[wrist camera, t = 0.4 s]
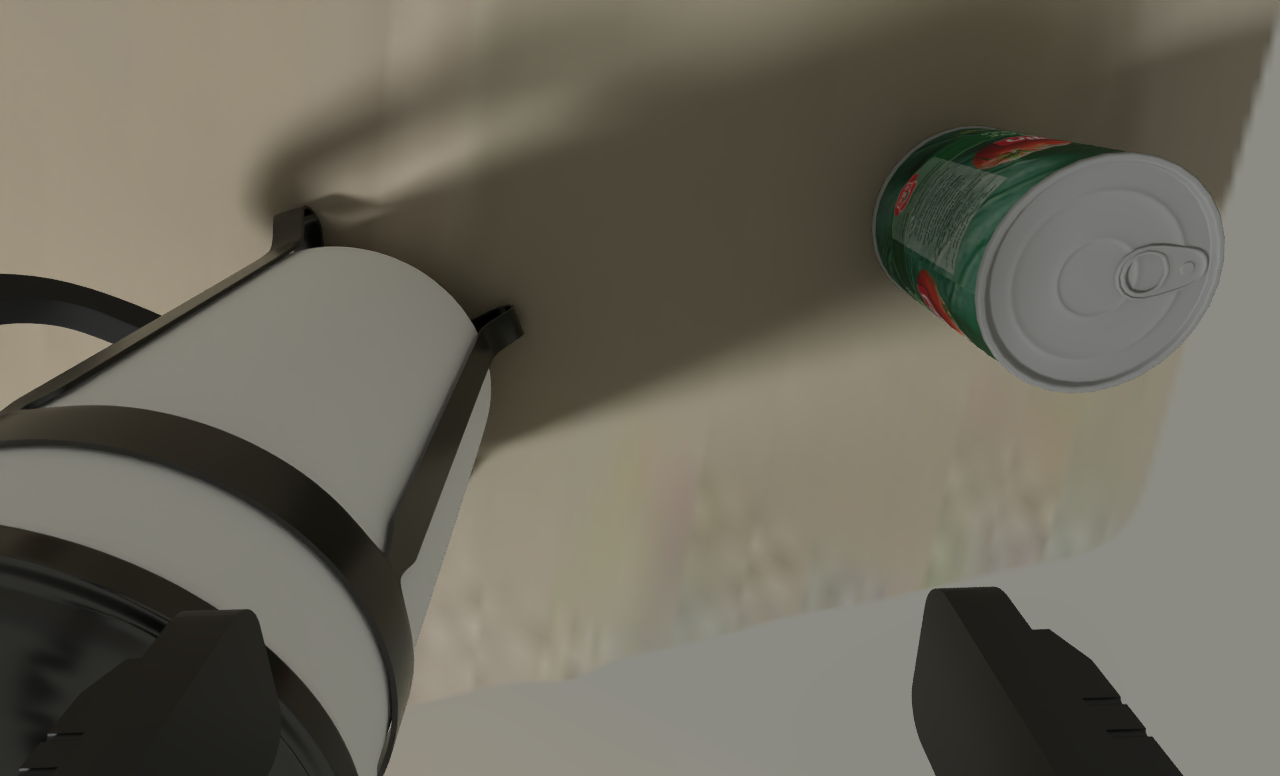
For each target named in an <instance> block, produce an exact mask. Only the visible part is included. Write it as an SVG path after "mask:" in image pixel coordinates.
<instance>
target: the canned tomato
mask: <svg viewBox="0 0 1280 776" xmlns="http://www.w3.org/2000/svg"><path fill="white" fill-rule="evenodd" d="M872 238H873V244H874V250H875V253H876V255H877V258H878V261H879V263H880V265H881V267H882V268H883V270H884V272H885V273H886V275H887V276H888V278H889V279H890V280H891V281H892V282H893V283H894V284H895V285H896V286H897V287H898V288H899V289H901V290H902V291H904V292H905V293H907V294H909V295H910V296H912V297H913V298H914V299H915V300H917V301H918V302H919V303H920V304H922V305H923V306H925V307H926V308H927V309H928V310H930V311H931V312H933V313H934V314H935V315H936V316H938V317H939V318H941V319H942V320H943V321H944V322H946V323H947V324H949V325H950V326H951V327H952V328H954V329H955V330H957V331H958V332H959V333H960V334H961V335H963V336H965V337H966V338H967V339H968V340H969V341H971V342H972V343H974V344H975V345H976V346H977V347H978V348H980V349H982V350H983V351H984V352H985V353H987V354H988V355H989V356H991V357H992V358H994V359H996V360H997V361H998V362H1000V363H1001V364H1002V365H1003V366H1004V367H1005V368H1006V369H1007V370H1008V371H1009V372H1010V373H1011V374H1013V375H1015V376H1016V377H1018V378H1020V379H1021V380H1023V381H1024V382H1026V383H1028V384H1031V385H1033V386H1036V387H1039V388H1042V389H1045V390H1048V391H1056V392H1064V393H1082V392H1094V391H1098V390H1102V389H1106V388H1110V387H1114V386H1117V385H1120V384H1122V383H1124V382H1127V381H1129V380H1132V379H1134V378H1136V377H1139V376H1140V375H1142V374H1143V373H1145V372H1147V371H1148V370H1150V369H1151V368H1153V367H1155V366H1156V365H1158V364H1160V363H1161V362H1162V361H1163V360H1164V359H1165V358H1167V357H1168V356H1169V355H1170V354H1171V353H1172V352H1174V351H1175V350H1176V349H1177V348H1178V347H1179V346H1180V345H1181V344H1182V343H1183V342H1184V341H1185V339H1186V338H1187V337H1188V336H1189V335H1190V334H1191V333H1192V331H1193V330H1194V329H1195V328H1196V326H1197V325H1198V323H1199V322H1200V320H1201V319H1202V317H1203V315H1204V314H1205V312H1206V311H1207V309H1208V307H1209V305H1210V303H1211V301H1212V298H1213V296H1214V294H1215V291H1216V289H1217V286H1218V284H1219V280H1220V275H1221V271H1222V266H1223V262H1224V232H1223V227H1222V221H1221V216H1220V213H1219V211H1218V209H1217V207H1216V205H1215V202H1214V200H1213V198H1212V196H1211V194H1210V193H1209V192H1208V190H1207V189H1206V188H1205V187H1204V186H1203V184H1202V183H1201V182H1200V181H1199V179H1198V178H1197V177H1195V176H1194V175H1193V174H1191V173H1190V172H1188V171H1187V170H1186V169H1184V168H1183V167H1182V166H1180V165H1179V164H1176V163H1174V162H1171V161H1169V160H1166V159H1164V158H1161V157H1159V156H1156V155H1150V154H1143V153H1137V152H1124V151H1121V150H1114V149H1108V148H1103V147H1096V146H1092V145H1085V144H1080V143H1073V142H1068V141H1062V140H1057V139H1050V138H1045V137H1038V136H1033V135H1027V134H1021V133H1015V132H1009V131H1003V130H999V129H996V128H991V127H984V126H966V127H957V128H954V129H950V130H946V131H942V132H940V133H938V134H936V135H934V136H932V137H930V138H927V139H925V140H924V141H922V142H921V143H919V144H918V145H917V146H915V147H914V148H913V149H911V150H910V151H909V152H908V153H907V154H906V155H905V156H904V157H903V158H902V159H901V160H900V161H899V162H898V163H897V164H896V165H895V166H894V168H893V169H892V171H891V172H890V174H889V175H888V177H887V178H886V180H885V181H884V183H883V186H882V188H881V190H880V192H879V195H878V197H877V200H876V204H875V208H874V212H873V219H872Z"/></svg>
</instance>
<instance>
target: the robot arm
mask: <svg viewBox="0 0 1280 776" xmlns="http://www.w3.org/2000/svg"><path fill="white" fill-rule="evenodd" d="M1120 699H1121V698H1120V695H1119V694H1118V693H1117V691H1116V690H1115V689H1114V688H1113V686H1112V685H1111V684H1110V683H1109V681H1108V680H1107V679H1106V678H1105V676H1104V675H1103V674H1102V673H1101V671H1100V670H1099V669H1098V668H1097V666H1096V665H1095V664H1094V663H1093V661H1092V660H1091V659H1089V658H1088V657H1087V656H1086V655H1084V654H1083V653H1081V652H1080V651H1079V650H1077V649H1076V648H1075V647H1073V646H1072V645H1070V644H1069V643H1068V642H1066V641H1065V640H1063V639H1062V638H1061V637H1059V636H1058V635H1056V634H1055V633H1054V632H1052V631H1051V630H1049V629H1040V630H1032V629H1031V628H1030V626H1029V625H1028V623H1027V622H1026V621H1025V619H1024V618H1023V617H1022V615H1021V614H1020V613H1019V611H1018V610H1017V608H1016V607H1015V606H1014V604H1013V603H1012V602H1011V600H1010V599H1009V597H1008V596H1007V595H1006V594H1005V593H1004V592H1003V591H1002V590H1001V589H1000V588H997V587H971V588H970V587H969V588H938V589H933V590H931V591H930V593H929V594H928V596H927V599H926V603H925V609H924V615H923V621H922V628H921V634H920V640H919V646H918V653H917V659H916V666H915V672H914V678H913V685H912V707H913V715H914V721H915V726H916V729H917V733H918V736H919V739H920V742H921V744H922V746H923V749H924V751H925V753H926V755H927V757H928V760H929V762H930V764H931V766H932V768H933V770H934V773H935V775H936V776H1183V775H1182V774H1181V772H1180V771H1179V770H1178V768H1177V767H1176V766H1175V765H1174V764H1173V762H1172V761H1171V760H1170V758H1169V757H1168V756H1167V755H1166V753H1165V752H1164V751H1163V749H1162V748H1161V747H1160V746H1159V744H1158V743H1157V742H1156V741H1155V740H1154V738H1153V737H1148V736H1147V735H1146V728H1145V727H1144V726H1143V724H1142V723H1141V722H1140V720H1139V719H1138V718H1137V717H1136V715H1135V714H1134V713H1133V712H1132V710H1131V709H1130V708H1129V707H1128V705H1127V704H1122V703H1121V700H1120ZM280 734H281V710H280V705H279V700H278V696H277V692H276V688H275V684H274V680H273V676H272V672H271V668H270V663H269V659H268V655H267V651H266V647H265V643H264V639H263V635H262V631H261V627H260V623H259V620H258V618H257V616H256V614H255V613H254V612H253V611H251V610H249V609H232V610H202V611H182V612H180V613H178V614H176V615H175V616H174V617H173V618H172V619H171V620H170V621H169V623H168V624H167V625H166V626H165V628H164V629H163V630H162V632H161V633H160V634H159V636H158V637H157V638H156V640H155V641H154V642H153V643H152V645H151V646H150V647H149V649H148V650H147V651H146V653H145V654H144V655H143V657H142V658H129V659H126V660H124V661H123V662H122V663H120V664H119V665H118V666H116V667H115V668H114V669H112V670H111V671H110V672H108V673H107V674H106V675H104V676H103V677H101V678H100V679H99V680H97V681H96V682H95V683H93V684H92V685H91V686H89V687H88V688H87V689H85V690H84V691H83V692H81V693H80V694H79V696H78V697H77V698H76V699H75V700H74V702H73V703H72V704H71V705H70V707H69V708H68V709H67V710H66V711H65V713H64V714H63V715H62V716H61V718H60V719H59V720H58V721H57V723H56V724H55V725H54V726H53V727H52V729H51V730H50V731H49V732H48V734H47V735H48V737H47V740H46V742H40V743H39V745H38V746H37V747H36V748H35V749H34V751H33V752H32V753H31V754H30V756H29V757H28V758H27V759H26V761H25V762H24V763H23V764H22V765H21V767H20V768H19V774H18V776H268V774H269V772H270V770H271V768H272V766H273V763H274V761H275V758H276V754H277V750H278V746H279V741H280Z"/></svg>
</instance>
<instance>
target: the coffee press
mask: <svg viewBox="0 0 1280 776" xmlns="http://www.w3.org/2000/svg"><path fill="white" fill-rule="evenodd" d="M292 251H294V252H293V253H291V252H292ZM289 253H290V254H289ZM13 323H34V324H47V325H55V326H61V327H65V328H69V329H74V330H77V331H80V332H83V333H86V334H89V335H92V336H94V337H97V338H100V339H102V340H105V341H107V342H110V343H113V344H112V345H110V346H109V347H107V348H105V349H104V350H102V351H100V352H98V353H97V354H95V355H93V356H91V357H90V358H88V359H86V360H85V361H83V362H81V363H79V364H78V365H76V366H74V367H72V368H71V369H69V370H67V371H65V372H64V373H62V374H60V375H59V376H57V377H55V378H53V379H52V380H50V381H48V382H46V383H45V384H43V385H41V386H39V387H38V388H36V389H34V390H33V391H31V392H29V393H27V394H26V395H24V396H22V397H20V398H19V399H17V400H15V401H14V402H12V403H11V404H10V405H8V406H7V407H6V408H4V409H3V410H2V411H0V776H18V774H19V768H20V767H21V765H22V764H23V763H24V762H25V761H26V759H27V758H28V757H29V756H30V754H31V753H32V752H33V751H34V749H35V748H36V747H37V746H38V745H39V743H40V742H46V740H47V737H48V735H47V734H48V732H49V731H50V730H51V729H52V727H53V726H54V725H55V724H56V723H57V721H58V720H59V719H60V718H61V716H62V715H63V714H64V713H65V711H66V710H67V709H68V708H69V707H70V705H71V704H72V703H73V702H74V700H75V699H76V698H77V697H78V696H79V694H80V693H81V692H83V691H84V690H85V689H87V688H88V687H89V686H91V685H92V684H93V683H95V682H96V681H97V680H99V679H100V678H101V677H103V676H104V675H106V674H107V673H108V672H110V671H111V670H112V669H114V668H115V667H116V666H118V665H119V664H120V663H122V662H123V661H124V660H126V659H129V658H142V657H143V655H144V654H145V653H146V651H147V650H148V649H149V647H150V646H151V645H152V643H153V642H154V641H155V640H156V638H157V637H158V636H159V634H160V633H161V632H162V630H163V629H164V628H165V626H166V625H167V624H168V623H169V621H170V620H171V619H172V618H173V617H174V616H175V615H176V614H178V613H180V612H182V611H202V610H232V609H249V610H251V611H253V612H254V613H255V614H256V616H257V618H258V620H259V623H260V627H261V631H262V635H263V639H264V643H265V647H266V651H267V655H268V659H269V663H270V668H271V672H272V676H273V680H274V684H275V688H276V692H277V696H278V700H279V705H280V710H281V734H280V741H279V746H278V750H277V754H276V758H275V761H274V763H273V766H272V768H271V770H270V772H269V774H268V776H383V775H384V773H385V770H386V768H387V765H388V763H389V760H390V757H391V754H392V751H393V747H394V744H395V740H396V738H397V734H398V731H399V727H400V724H401V721H402V718H403V714H404V711H405V708H406V705H407V702H408V698H409V695H410V690H411V685H412V679H413V670H414V649H415V646H416V643H417V640H418V637H419V634H420V630H421V627H422V624H423V621H424V618H425V615H426V612H427V609H428V606H429V603H430V599H431V596H432V593H433V590H434V587H435V584H436V581H437V578H438V575H439V571H440V568H441V565H442V562H443V559H444V556H445V553H446V550H447V547H448V544H449V540H450V537H451V534H452V531H453V528H454V525H455V522H456V519H457V516H458V512H459V509H460V506H461V503H462V500H463V497H464V494H465V491H466V487H467V484H468V481H469V478H470V475H471V472H472V469H473V465H474V462H475V459H476V456H477V453H478V449H479V446H480V443H481V440H482V436H483V433H484V430H485V426H486V422H487V418H488V414H489V408H490V400H491V378H490V370H489V366H490V364H491V362H492V360H493V358H494V356H495V355H496V354H497V353H498V352H499V351H501V350H502V349H503V348H505V347H506V346H508V345H509V344H511V343H512V342H514V341H515V340H517V339H518V338H520V337H521V336H522V335H523V334H524V331H523V329H522V326H521V323H520V321H519V318H518V316H517V313H516V310H515V308H514V305H504V306H500V307H497V308H495V309H492V310H490V311H488V312H486V313H484V314H482V315H480V316H478V317H476V318H475V319H473V320H470V319H469V317H468V316H467V314H466V313H465V312H464V310H463V309H462V308H461V306H460V305H459V304H458V303H457V302H456V301H455V299H454V298H453V297H452V296H451V295H450V294H449V293H448V292H447V291H446V290H445V289H444V288H442V287H441V286H440V285H439V284H438V283H436V282H435V281H434V280H433V279H431V278H430V277H428V276H427V275H426V274H424V273H423V272H421V271H419V270H418V269H416V268H414V267H412V266H411V265H409V264H407V263H405V262H402V261H400V260H398V259H395V258H393V257H390V256H388V255H385V254H381V253H378V252H374V251H370V250H365V249H360V248H352V247H324V241H323V232H322V227H321V224H320V222H319V219H318V217H317V216H316V214H315V212H314V211H313V210H312V209H311V208H310V207H309V206H306V205H305V206H302V207H299V208H296V209H293V210H290V211H287V212H284V213H281V214H278V215H275V216H274V219H273V240H272V246H271V249H270V251H269V252H268V253H267V254H265V255H264V256H263V257H261V258H260V259H258V260H257V261H255V262H253V263H252V264H250V265H248V266H247V267H245V268H243V269H241V270H240V271H238V272H236V273H235V274H233V275H231V276H230V277H228V278H226V279H224V280H223V281H221V282H219V283H218V284H216V285H214V286H212V287H211V288H209V289H207V290H206V291H204V292H202V293H200V294H199V295H197V296H195V297H193V298H192V299H190V300H188V301H187V302H185V303H183V304H181V305H180V306H178V307H176V308H174V309H173V310H171V311H169V312H168V313H166V314H164V315H162V316H161V315H159V314H156V313H154V312H152V311H149V310H147V309H145V308H142V307H140V306H137V305H135V304H132V303H130V302H127V301H124V300H122V299H119V298H116V297H114V296H111V295H108V294H105V293H102V292H99V291H96V290H93V289H90V288H87V287H83V286H79V285H76V284H72V283H68V282H63V281H59V280H54V279H49V278H42V277H36V276H27V275H16V274H0V325H2V324H13ZM391 720H392V724H391V729H390V731H389V732H388V730H389V727H390V723H391ZM387 733H388V734H387Z"/></svg>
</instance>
